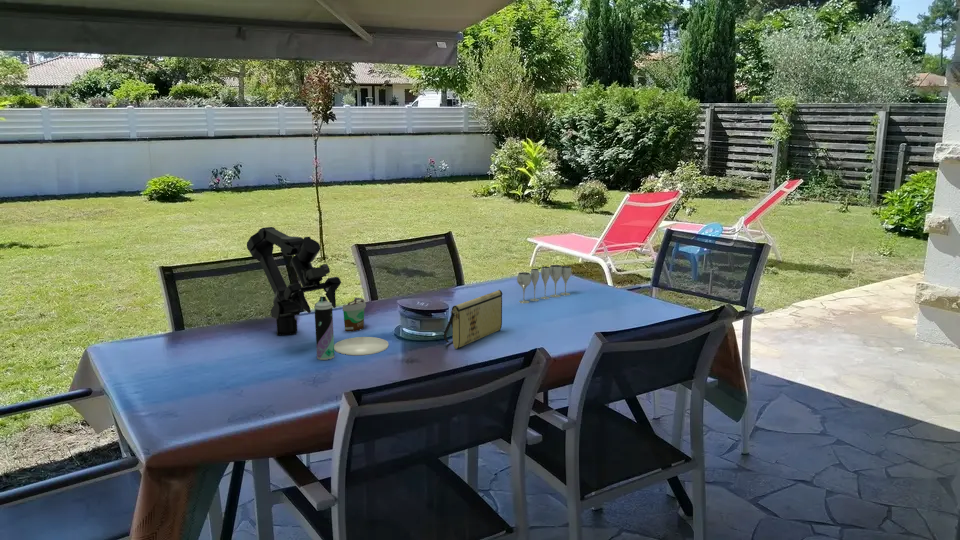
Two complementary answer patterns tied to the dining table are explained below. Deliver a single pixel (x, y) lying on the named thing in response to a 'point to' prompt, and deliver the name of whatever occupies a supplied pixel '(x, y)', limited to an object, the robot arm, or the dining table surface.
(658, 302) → the dining table surface
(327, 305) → the spray can
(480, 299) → the clutch purse
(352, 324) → the food container
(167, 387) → the dining table surface
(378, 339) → the cream round disc
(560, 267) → the goblet set
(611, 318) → the dining table surface
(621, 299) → the dining table surface
